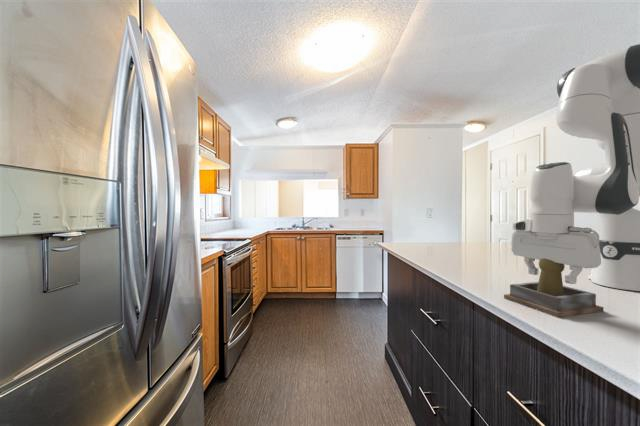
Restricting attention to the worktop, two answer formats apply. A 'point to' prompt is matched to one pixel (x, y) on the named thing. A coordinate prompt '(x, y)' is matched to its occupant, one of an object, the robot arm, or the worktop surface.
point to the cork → (551, 278)
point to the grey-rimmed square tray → (554, 300)
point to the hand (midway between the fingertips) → (550, 278)
